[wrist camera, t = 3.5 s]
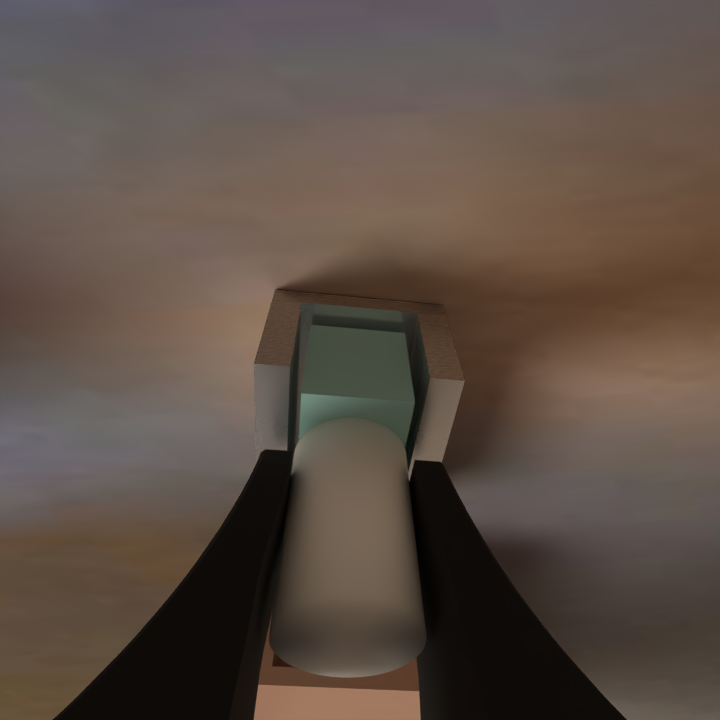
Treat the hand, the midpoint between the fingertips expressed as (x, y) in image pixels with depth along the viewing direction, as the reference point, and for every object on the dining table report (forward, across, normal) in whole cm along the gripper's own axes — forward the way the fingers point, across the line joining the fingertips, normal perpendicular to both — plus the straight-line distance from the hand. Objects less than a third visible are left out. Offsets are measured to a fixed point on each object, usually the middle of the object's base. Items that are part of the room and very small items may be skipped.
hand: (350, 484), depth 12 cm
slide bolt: (+5, 0, +2) cm, 5 cm away
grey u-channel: (+5, 0, +2) cm, 5 cm away
